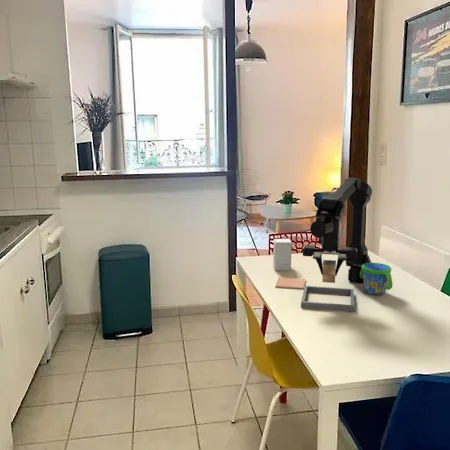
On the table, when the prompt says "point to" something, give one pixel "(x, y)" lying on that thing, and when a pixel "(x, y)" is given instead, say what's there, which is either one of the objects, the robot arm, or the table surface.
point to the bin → (328, 305)
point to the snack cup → (376, 278)
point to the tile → (290, 283)
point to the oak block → (329, 271)
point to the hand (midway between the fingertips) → (329, 275)
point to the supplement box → (282, 254)
